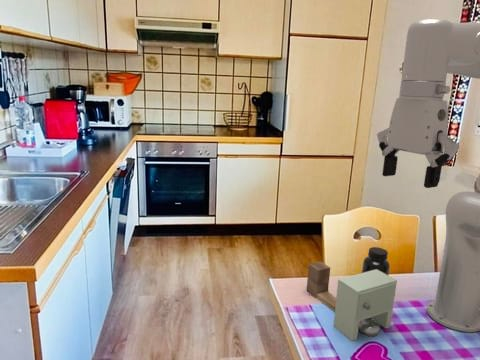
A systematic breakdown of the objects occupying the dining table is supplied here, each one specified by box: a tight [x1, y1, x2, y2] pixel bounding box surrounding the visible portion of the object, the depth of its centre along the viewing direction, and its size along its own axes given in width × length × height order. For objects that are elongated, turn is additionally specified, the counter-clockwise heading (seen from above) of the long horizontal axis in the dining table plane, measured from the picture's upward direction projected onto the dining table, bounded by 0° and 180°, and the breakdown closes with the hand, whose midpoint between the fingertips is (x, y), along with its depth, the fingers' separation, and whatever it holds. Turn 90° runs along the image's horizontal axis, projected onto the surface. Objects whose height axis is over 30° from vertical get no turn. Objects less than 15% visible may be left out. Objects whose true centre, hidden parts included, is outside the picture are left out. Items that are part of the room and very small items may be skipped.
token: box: [358, 318, 380, 338], centre depth 89 cm, size 4×4×2 cm
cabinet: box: [333, 269, 398, 342], centre depth 89 cm, size 12×7×12 cm, turn 118°
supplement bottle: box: [361, 246, 391, 276], centre depth 106 cm, size 7×7×12 cm
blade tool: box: [306, 261, 337, 312], centre depth 100 cm, size 4×14×8 cm, turn 28°
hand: (408, 181), depth 77 cm, fingers open, 9 cm apart
